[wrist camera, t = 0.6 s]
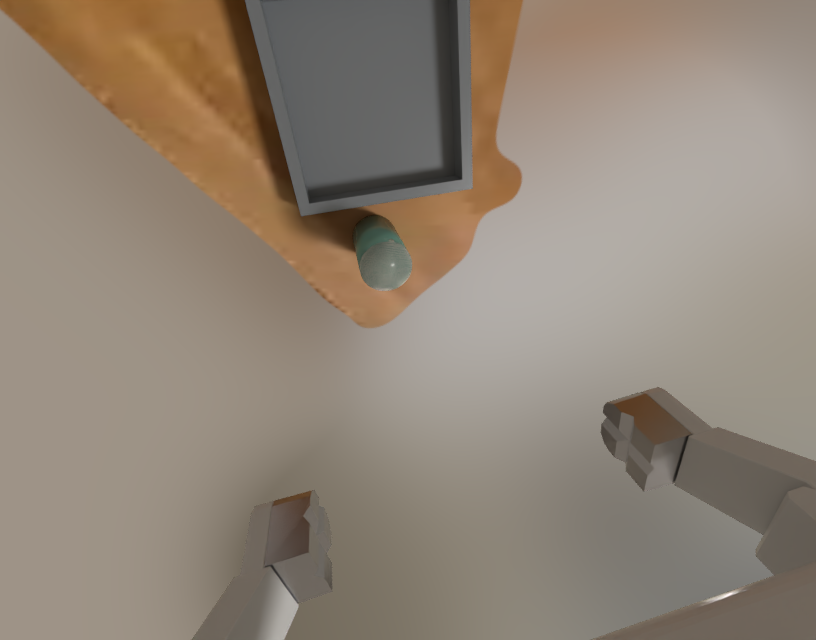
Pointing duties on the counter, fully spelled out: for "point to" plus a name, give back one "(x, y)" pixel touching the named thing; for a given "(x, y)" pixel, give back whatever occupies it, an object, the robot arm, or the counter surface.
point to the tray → (368, 97)
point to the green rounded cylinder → (381, 254)
